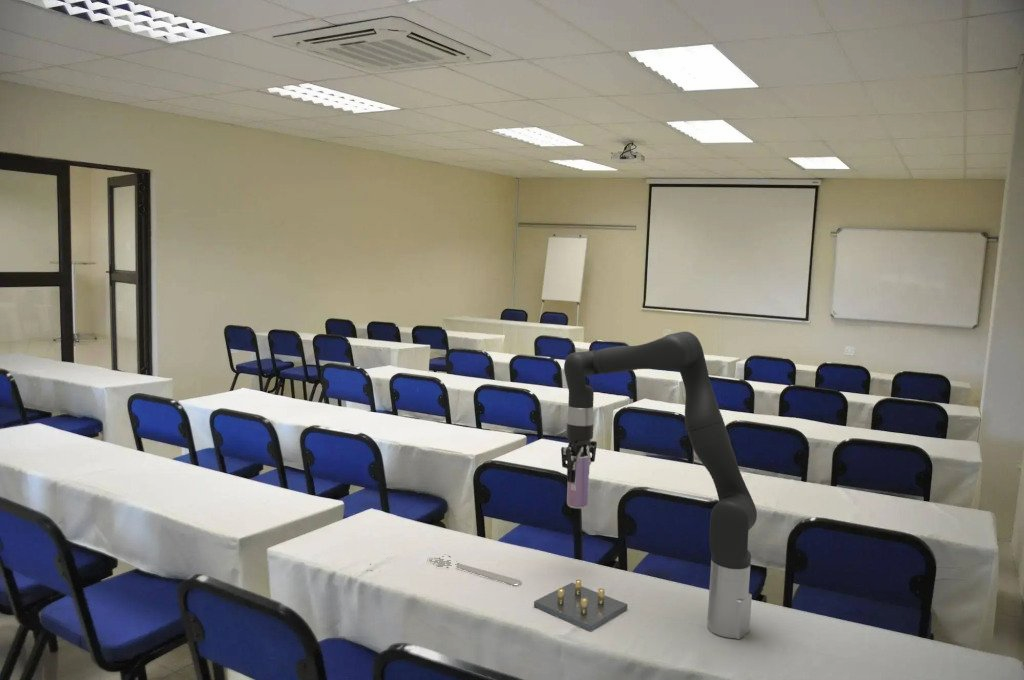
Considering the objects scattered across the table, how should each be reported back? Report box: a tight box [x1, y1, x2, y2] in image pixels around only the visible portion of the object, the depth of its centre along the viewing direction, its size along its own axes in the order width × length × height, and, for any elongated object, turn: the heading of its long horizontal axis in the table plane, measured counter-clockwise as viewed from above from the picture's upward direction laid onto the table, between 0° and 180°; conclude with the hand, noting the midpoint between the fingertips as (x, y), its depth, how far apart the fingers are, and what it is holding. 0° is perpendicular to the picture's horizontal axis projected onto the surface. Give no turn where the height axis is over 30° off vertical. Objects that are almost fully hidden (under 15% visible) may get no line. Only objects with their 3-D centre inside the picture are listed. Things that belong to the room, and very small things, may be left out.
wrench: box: [428, 556, 523, 587], centre depth 209 cm, size 8×32×1 cm, turn 59°
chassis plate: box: [533, 579, 629, 632], centre depth 188 cm, size 18×16×5 cm
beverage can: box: [566, 454, 590, 510], centre depth 208 cm, size 6×6×15 cm
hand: (578, 479), depth 208 cm, fingers closed on beverage can, 6 cm apart
